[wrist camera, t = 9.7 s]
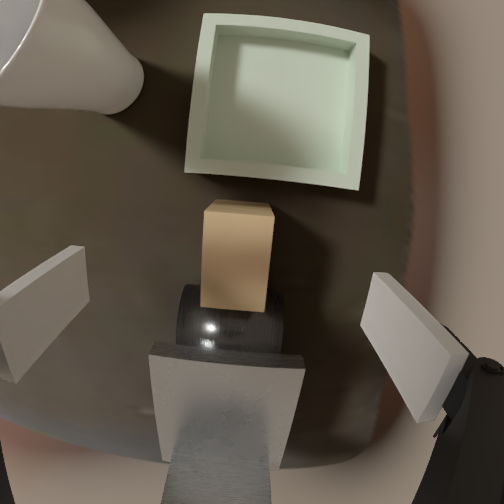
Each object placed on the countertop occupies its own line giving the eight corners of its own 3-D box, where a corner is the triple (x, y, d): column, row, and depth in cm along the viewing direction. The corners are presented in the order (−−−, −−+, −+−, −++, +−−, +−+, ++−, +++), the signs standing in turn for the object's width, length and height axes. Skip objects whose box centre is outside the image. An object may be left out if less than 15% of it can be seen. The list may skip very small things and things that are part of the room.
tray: (207, 26, 19) (203, 13, 17) (359, 45, 20) (369, 35, 17) (191, 171, 23) (184, 172, 20) (348, 187, 23) (358, 190, 21)
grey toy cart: (173, 270, 25) (91, 402, 10) (297, 282, 25) (348, 427, 10) (178, 417, 30) (148, 541, 15) (271, 426, 30) (279, 553, 15)
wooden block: (215, 199, 23) (204, 211, 18) (269, 203, 24) (274, 216, 18) (211, 274, 25) (200, 306, 19) (261, 278, 25) (264, 312, 19)
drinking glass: (167, 97, 21) (62, 24, 7) (96, 139, 22) (-48, 134, 7) (138, 33, 19) (41, -61, 5) (72, 76, 20) (-56, 33, 6)
